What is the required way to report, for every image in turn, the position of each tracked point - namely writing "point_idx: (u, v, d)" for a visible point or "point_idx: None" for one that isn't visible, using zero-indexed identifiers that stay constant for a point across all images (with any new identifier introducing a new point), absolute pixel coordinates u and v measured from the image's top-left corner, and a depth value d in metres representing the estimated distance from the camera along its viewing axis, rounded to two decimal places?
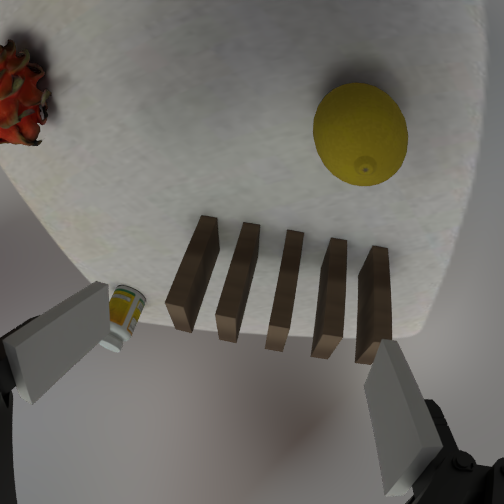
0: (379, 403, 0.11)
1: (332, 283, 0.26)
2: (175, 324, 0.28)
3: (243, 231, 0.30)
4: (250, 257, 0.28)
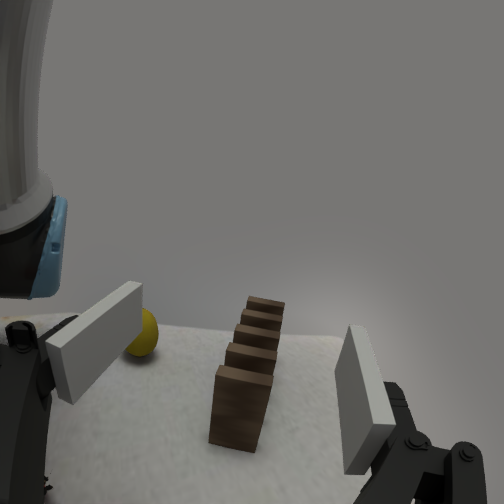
0: (344, 385, 0.12)
1: None
2: (259, 382, 0.26)
3: None
4: None
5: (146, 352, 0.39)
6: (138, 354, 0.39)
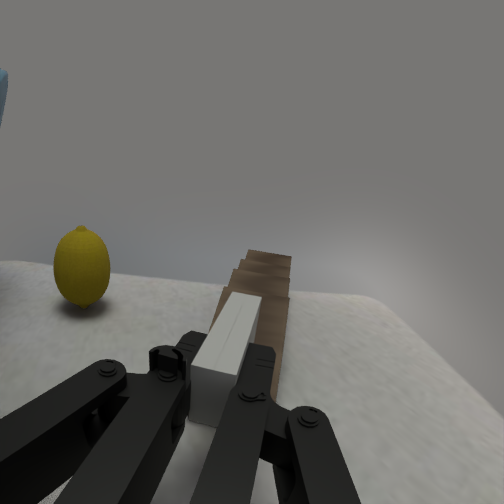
0: None
1: None
2: None
3: None
4: None
5: (89, 297, 0.25)
6: (77, 300, 0.24)
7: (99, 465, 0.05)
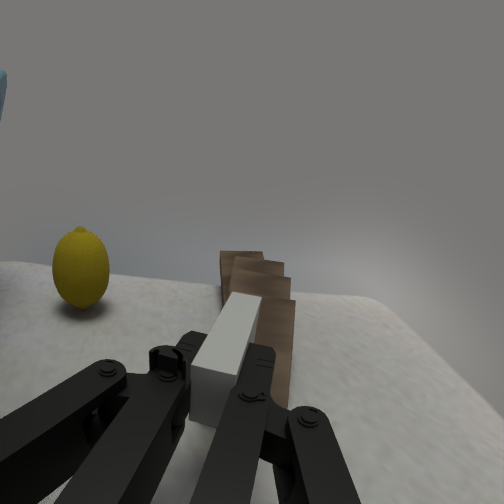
0: None
1: (221, 277, 0.34)
2: None
3: None
4: None
5: (88, 298, 0.25)
6: (76, 301, 0.24)
7: (99, 465, 0.05)
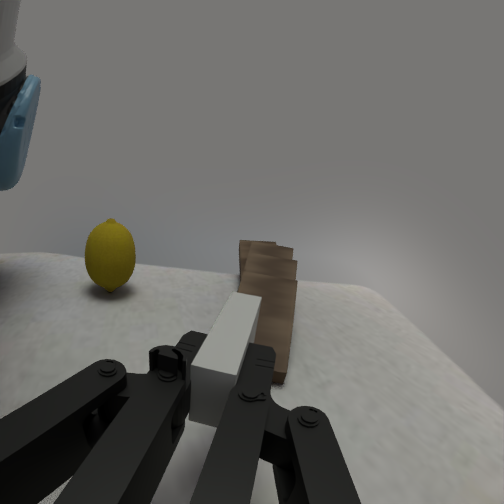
0: None
1: (240, 259, 0.40)
2: None
3: None
4: None
5: (117, 280, 0.30)
6: (106, 283, 0.29)
7: (99, 465, 0.05)
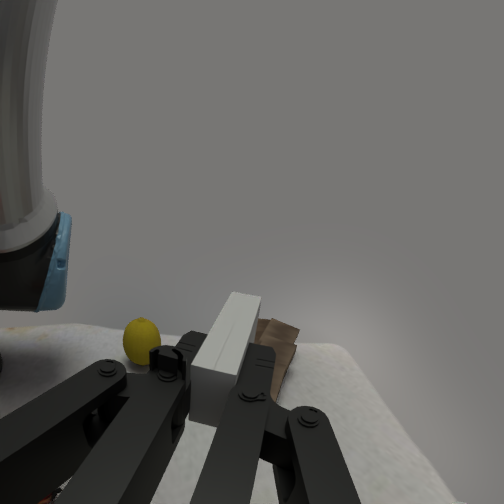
0: None
1: None
2: (278, 363, 0.41)
3: None
4: None
5: None
6: (141, 363, 0.40)
7: (99, 465, 0.05)
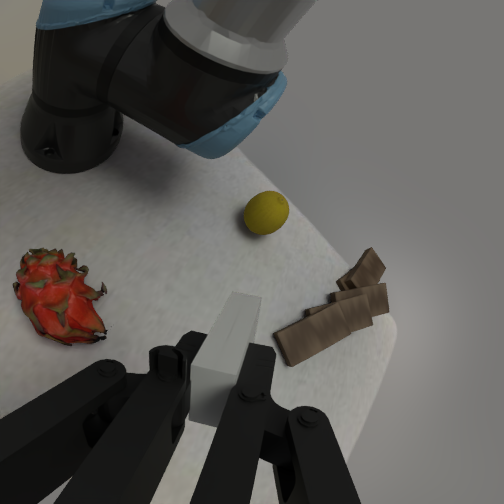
0: None
1: (360, 262, 0.53)
2: (347, 326, 0.43)
3: (315, 307, 0.45)
4: (329, 303, 0.46)
5: None
6: (251, 230, 0.44)
7: (99, 465, 0.05)
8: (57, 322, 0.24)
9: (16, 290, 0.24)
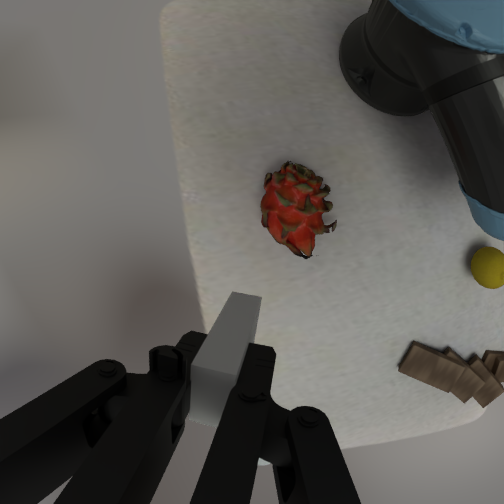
0: None
1: None
2: None
3: (454, 354, 0.40)
4: (463, 360, 0.40)
5: None
6: None
7: (99, 465, 0.05)
8: (280, 231, 0.35)
9: (266, 183, 0.36)
